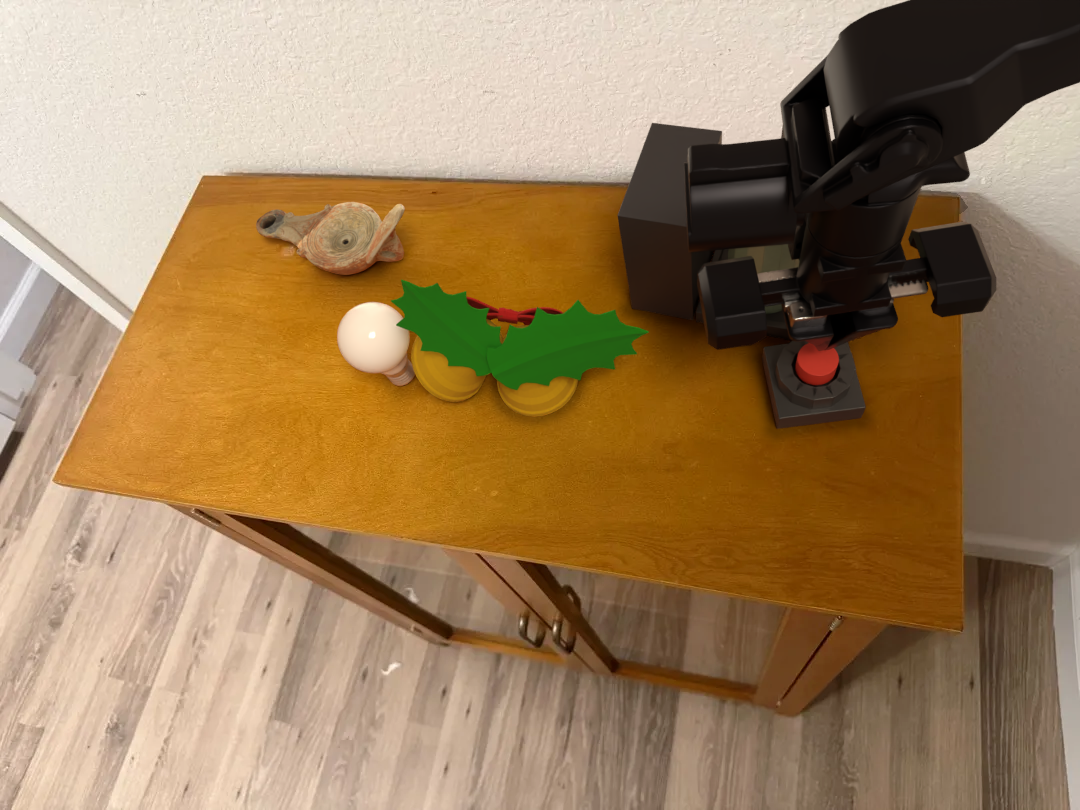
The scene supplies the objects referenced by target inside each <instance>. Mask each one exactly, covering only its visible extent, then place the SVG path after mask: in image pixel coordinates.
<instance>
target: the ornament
mask: <svg viewBox="0 0 1080 810" xmlns="http://www.w3.org/2000/svg"><path fill="white" fill-rule="evenodd" d="M400 282H401V288H402V291H403V294H402V296H399V297H398V298H395V299H391V300H390V302H391V303H392V304H393V305H395V306H396V307H397V308H398V309H400V311H402V312H403V314H404V316H403V319H402V320H401V321H400V322H398V323H397V324H396V326H398V327H401V328H404V329H406V330H409V332H412V333H414V334H415V335H416V337H415V338H414V342H413V344H412V347H411V353H410V358H411V360H410V361H411V363H412V366H413V370H414V372H415V377H416V378H417V380H418V381H419V383H420V384H421V386H422V387H423V388H424V389H425V390H426V391H427V392H428V393H429V394H431V395H432V396H434V397H435V398H436V399H437V398H438V399H440V400H442V401H446V402H450V403H458V402H459V403H460V402H464V401H465V400H469V399H470V398H472V397H473V396H475V394H476V393H478V392H479V390H480V389H481V387H482V386H483V384H484V382H485V379H486V377H487V376H488V375H491V374H492V377H493V378H494V379H495V380H496V386H497V391H498V393H499V396H500V398H501V400H502V402H503V403H504V405H506V406H507V408H509V410H511V411H513V412H514V413H516V414H518V415H521V416H524V417H525V416H526V417H535V418H536V417H543V416H547V415H551V414H553V413H555V412H557V411H558V410H560V409H562V408H563V407H564V406H565V405H567V404H568V402H570V400H571V399H572V397H573V395H574V394H575V392H576V390H577V387H578V383H579V381H581V380H582V376H583V374H584V373H586V371H588V370H591V369H596V368H598V369H607V370H608V369H609V370H616V365H615V359H616V358H617V357H620V356H631V355H633V356H634V355H636V356H637V355H638V353H637V351H636V350H635V348H634V346H633V345H632V344H633V343H634V341H636V340H637V339H639V338H641V337H642V336H644V335H647V334H649V333H650V332H649V330H646V329H643V328H641V327H639V326H633V325H628V324H626V323H623V322H622V321H621V320H620V318H619V317H618V315H617V310H616V309H612V310H608V311H606V312H602V313H592V312H590V311H588V310H587V308H586V307H585V306H584V304H582V302H581V301H580V300H579V299H577V300H576V301H575V302H574V303H573V304H572V305H571V307H569V308H568V309H567V310H566V311H562V310H559V309H557V308H554V307H549V306H541V307H539V306H537V307H531V308H527V309H524V310H519V311H518V310H514V309H511V308H505V307H499V308H497V307H494V306H492V305H490V304H488V303H486V302H484V301H481V300H480V299H476V298H475V297H474V298H473V297H472V296H471V297H470V296H467V295H468V294H467V290H465V291H462V292H458V293H454V294H451V293H448V292H445V291H444V290H443V288H442V287H441V286H440V285H439V283H438V282H435V283H434V284H432V285H428V286H419V285H417V284H415V283H412V282H410V281H408V280H405V279H400ZM493 320H497V322H500V323H508V324H509V325H508V330H507V333H505V335H504V336H503V334H502V332H501V329H502V326H501V325H497V324H496V323H494V321H493ZM519 323H522V324H520V325H517V324H519ZM512 324H514V325H517V326H514V325H512Z"/></svg>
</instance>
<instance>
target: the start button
mask: <svg viewBox="0 0 1080 810" xmlns="http://www.w3.org/2000/svg"><path fill="white" fill-rule="evenodd" d="M838 363H839V356H838V353H837V351H836V350H835V349H834V348H832V349H830V350H824V351H818V350H817V348H816V347H815V346H814V345H813V344H811V343H808V344H806V345H804V346H803V347H802V348H801V349H800V351H799V353H798V356H797V361H796V365H795V369H796V373H797V375H798V377H799V378H800V379H801V380H802V381H804V382H805V383H808V384H811V385H822V384H825V383H827V382H829V381H830V380H831V379H832V378H833V377H834V375H835V372H836V369H837V366H838Z"/></svg>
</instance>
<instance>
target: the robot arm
mask: <svg viewBox="0 0 1080 810" xmlns="http://www.w3.org/2000/svg"><path fill="white" fill-rule="evenodd" d="M837 37H838V38H837V40H836V41H835V43H834V45H833V46H832V48H831V49H830V51H829V52H828V54H827V55H826V56H825V57H824V58H823V59H822V60H821V61H820V62H819V63H818V64H817V65H815V67H814V68H813V69H812V70H811V71H810V72H809V73H808V74H807V75H806V76H805V77H804V78H803V79H802V80H801V81H800V82H798V84H797V85H796V86H795V87H794V88H793V89H792V90H791V91H790V92H789V93H788V94H787V95H786V96H785V97H784V98H782V100H781V101H780V104H779V107H780V113H781V120H782V128H781V135H780V138H773V139H764V140H754V141H753V140H752V141H744V142H736V143H735V142H734V143H724V144H723V143H722V144H702V145H693V146H690V147H689V148H688V155H687V162H684V174H685V198H686V219H687V237H688V252H700V251H712V250H724V249H737V248H749V247H762V246H774V245H786V244H788V248H789V252H790V256H791V260H795V259H799V266H798V267H796V268H790V269H783V270H777V271H771V272H764V273H758V274H757V270H756V266H755V261H754V258H753V257H752V256H747V257H740V258H734V259H728V260H722V261H716V262H709V263H704V264H703V265H702V266H701V268H700V269H699V271H698V272H697V287H698V292H699V298H700V299H699V300H700V303H701V309H702V315H703V320H704V323H703V325H704V330H705V335H706V341H707V345H708V346H710V347H711V348H713V349H714V350H717V351H720V350H725V349H726V350H727V349H732V348H733V349H734V348H740V347H746V346H747V347H748V346H753V345H756V344H757V343H760V342H761V341H762V340H764V339H766V338H767V336H766V335H767V321H766V311H765V307H767V306H774V305H782V309H783V314H784V318H785V322H786V326H787V331H788V335H789V337H790V339H791V340H790V341H792V340H793V341H796V342H799V341H807V342H809V343H811V344H813V345H814V346H815V347H816V348H817V350H818V351H824V350H830V349H832V348H835V347H837V346H840V345H842V344H845V343H847V342H848V343H850V342H851V341H855V340H857V339H861V338H862V337H865V336H869V335H872V334H874V333H877V332H880V331H883V330H888V329H892V328H894V327H895V326H897V324H898V321H899V316H898V314H897V310H896V307H895V304H894V301H895V299H900V298H907V297H915V296H921V295H925V294H927V293H928V291H929V287H930V290H931V293H932V296H933V300H932V302H931V304H930V308H931V312H932V314H935V315H936V316H939V317H940V318H947V317H953V316H961V315H969V314H974V313H981V312H982V313H983V312H984V310H985V308H987V306H988V305H989V303H990V301H991V300H992V298H993V296H994V295H995V293H996V292H997V276H996V273H995V269H994V267H993V265H992V262H991V260H990V258H989V257H990V256H989V255H988V252H987V250H986V247H985V245H984V241H983V240H982V236H981V234H980V232H979V230H978V229H977V228H976V227H975V226H974V225H973V224H972V223H970V222H965V221H958V222H952V223H946V224H939V225H932V226H927V227H921V228H914V229H911V230H910V233H909V235H908V239H907V240H908V243H909V246H910V247H912V248H913V249H916V250H917V252H918V256H919V257H917V258H910V259H907V258H906V254H905V251H904V249H903V246H902V241H903V239H904V236H905V234H906V231H907V228H908V225H909V222H910V220H911V217H912V214H913V211H914V209H915V206H916V203H917V200H918V197H919V195H920V193H921V189H922V187H926V186H932V185H933V186H934V185H942V184H943V185H945V184H953V183H962V182H966V180H968V179H969V178H970V175H971V172H970V168H969V164H968V161H967V160H968V159H967V156H966V153H967V152H968V151H971V150H973V149H975V148H978V147H979V146H981V145H983V144H985V143H986V142H987V141H989V139H990V138H991V137H992V136H994V135H995V134H996V133H997V132H998V131H999V130H1000V129H1001V128H1002V127H1004V126H1005V124H1007V122H1008V121H1010V119H1012V118H1013V117H1014V116H1015V115H1016V114H1017V113H1018V112H1019V111H1020V110H1022V108H1023V107H1025V106H1026V105H1027V104H1030V103H1033V102H1034V101H1036V100H1038V99H1041V98H1043V97H1045V96H1047V95H1050V94H1052V93H1055V92H1057V91H1059V90H1063V89H1066V88H1069V87H1072V86H1074V85H1076V84H1080V0H905V1H901V2H899V3H895V4H892V5H889V6H885V7H882V8H879V9H876V10H874V11H871V12H868V13H867V14H864V15H863V16H861V17H859V18H858V19H856V20H854V21H853V22H851V23H849V24H848V25H847V26H845V28H844V29H842V30H841V31H840V32H839V34H838V36H837ZM828 107H829V114H830V118H831V119H830V120H831V123H832V130H833V137H834V138H833V139H832V137H831V136H832V135H831V132H830V124H829V118H828V111H827V108H828Z"/></svg>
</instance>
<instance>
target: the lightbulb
mask: <svg viewBox="0 0 1080 810" xmlns="http://www.w3.org/2000/svg"><path fill="white" fill-rule="evenodd" d="M403 318H404V316H402V314H401V313H400V312H399V311H398V310H397V309H396V308H394V307H392V306H390V305H389V304H386V303H383V302H379V301H367V302H363V303H359V304H357V305H355V306H352V308H351V309H349V310H347V312H346V313H345V314H344V315H343V317H342V318H341V320H340V321H339V325H338V327H337V332H336V342H337V347H338V350H339V352H340V354H341V356H342V357H343V359H344V360H345V361H346V362H347V363H348V364H349V365H350V366H351V367H353V368H354V369H356V370H358V371H359V372H360V371H361V372H363V373H366V374H382V375H384V376H386V378H387V380H389V381H390V383H392V385H394V386H398V387H401V386H406V385H408V384H409V383H411V381H413V379H414V377H415V376H416V374H415V372H414V370H413V366H412V361H411V360H410V359H409V357H408V351H409V347H410V341H411V336H410V331H409V330H406V329H404V328H401V327H398V326H396V324H397V323H398V322H400V321H401V320H402V319H403Z"/></svg>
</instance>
